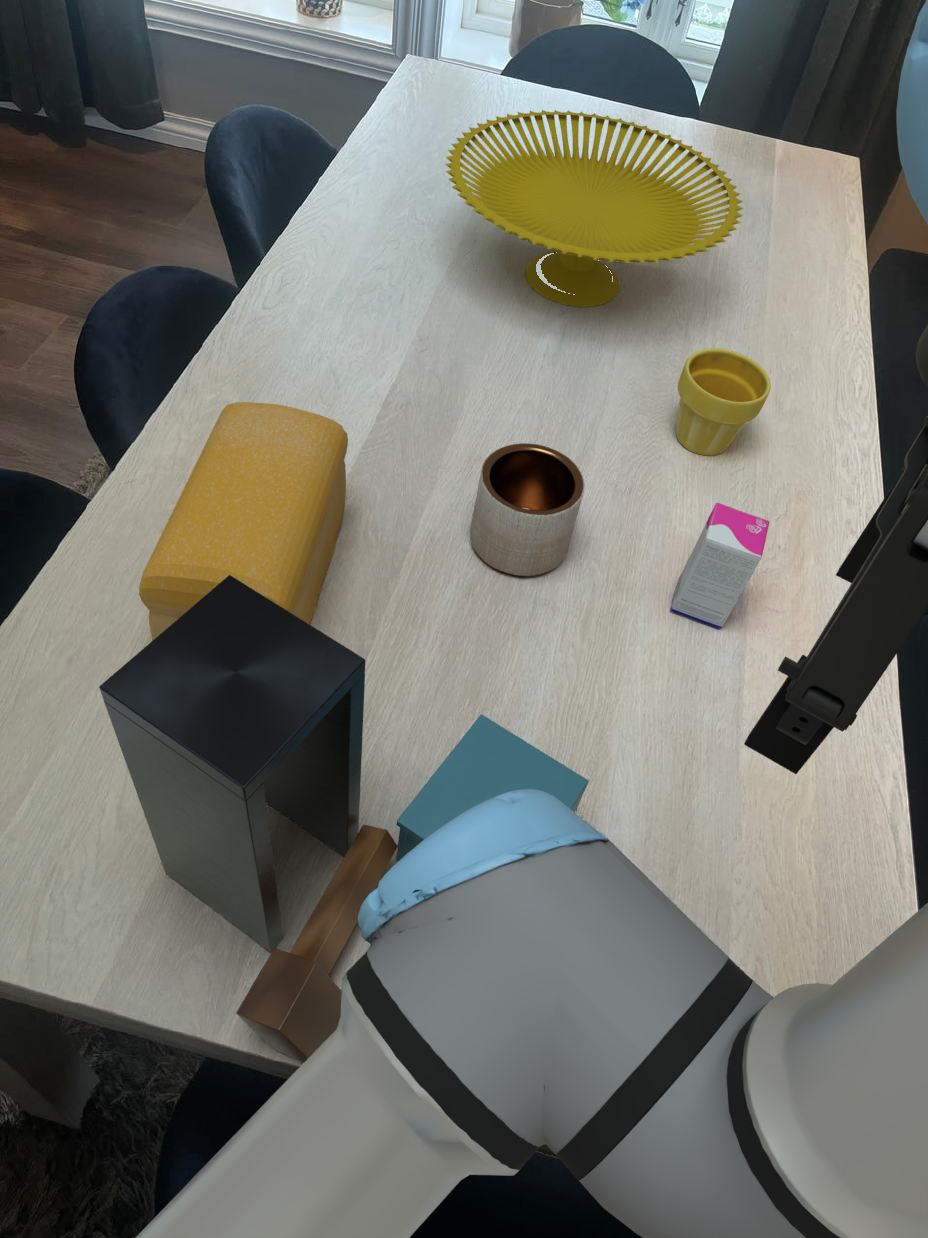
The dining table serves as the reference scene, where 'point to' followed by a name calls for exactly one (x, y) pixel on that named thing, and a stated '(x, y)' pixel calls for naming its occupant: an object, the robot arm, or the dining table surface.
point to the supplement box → (720, 566)
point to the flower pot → (718, 398)
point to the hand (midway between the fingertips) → (819, 662)
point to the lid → (486, 777)
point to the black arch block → (240, 745)
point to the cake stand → (590, 202)
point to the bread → (253, 513)
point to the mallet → (316, 956)
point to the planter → (526, 508)
